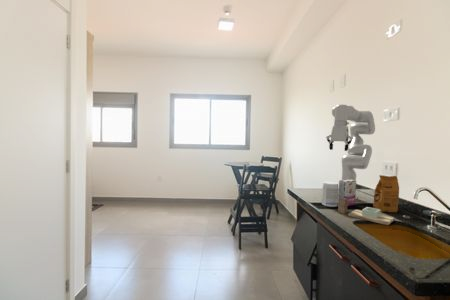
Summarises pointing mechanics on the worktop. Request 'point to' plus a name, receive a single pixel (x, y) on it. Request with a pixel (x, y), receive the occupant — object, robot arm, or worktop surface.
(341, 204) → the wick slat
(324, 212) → the worktop surface
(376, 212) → the pale green block
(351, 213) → the maple board
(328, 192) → the supplement tub
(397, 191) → the coffee package
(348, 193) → the candy bar box
